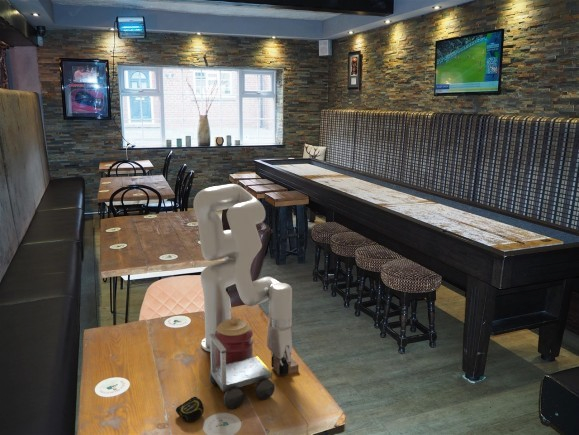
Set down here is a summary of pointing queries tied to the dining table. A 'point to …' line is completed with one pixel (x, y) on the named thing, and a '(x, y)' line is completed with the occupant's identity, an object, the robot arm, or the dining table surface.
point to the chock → (291, 367)
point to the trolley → (238, 376)
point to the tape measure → (190, 409)
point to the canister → (234, 340)
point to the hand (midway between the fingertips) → (279, 369)
